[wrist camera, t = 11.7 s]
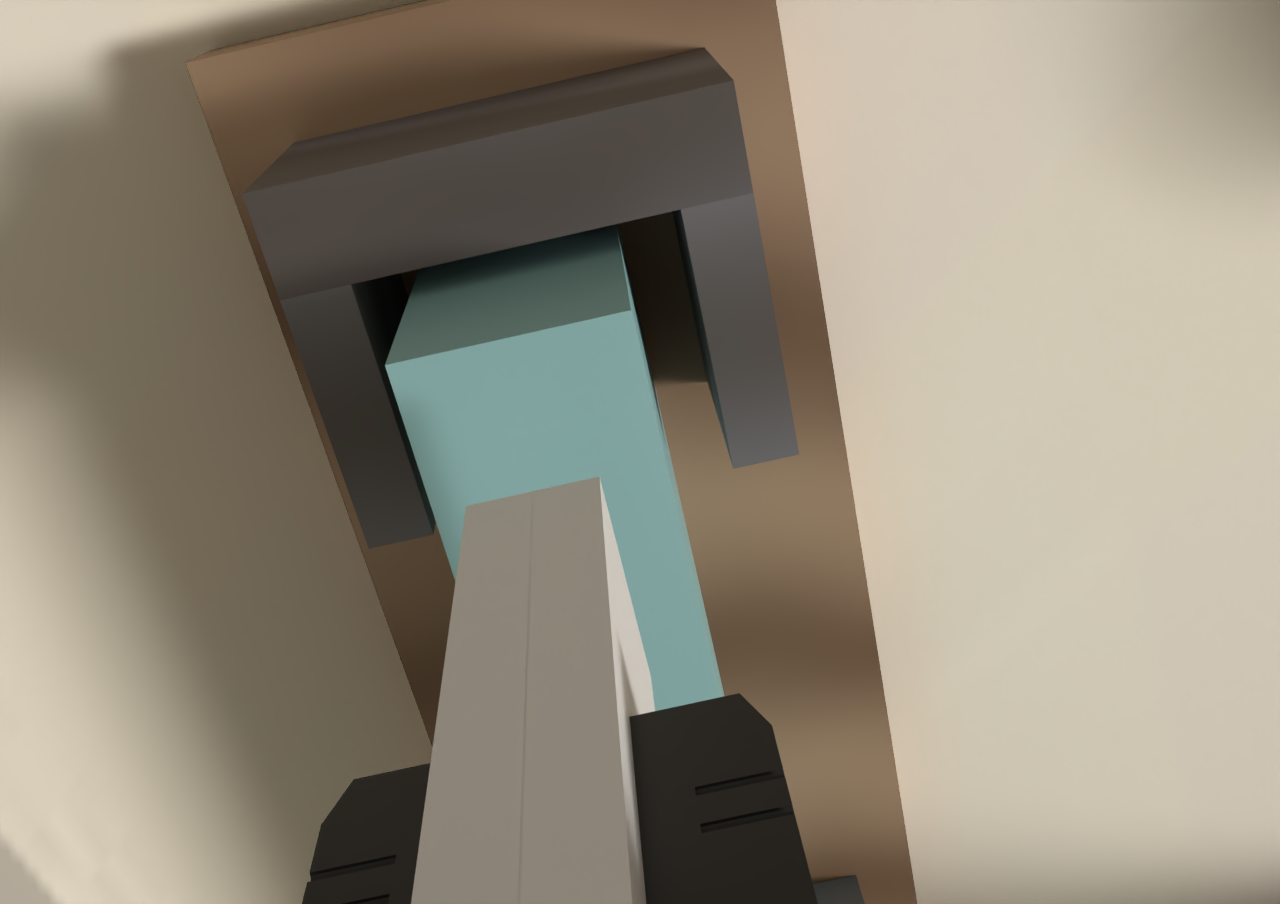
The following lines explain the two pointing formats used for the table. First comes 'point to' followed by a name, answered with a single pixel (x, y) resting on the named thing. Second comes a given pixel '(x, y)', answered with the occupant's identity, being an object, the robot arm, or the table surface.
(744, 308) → the frame
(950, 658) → the table surface
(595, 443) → the slat
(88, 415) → the table surface
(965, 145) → the table surface
